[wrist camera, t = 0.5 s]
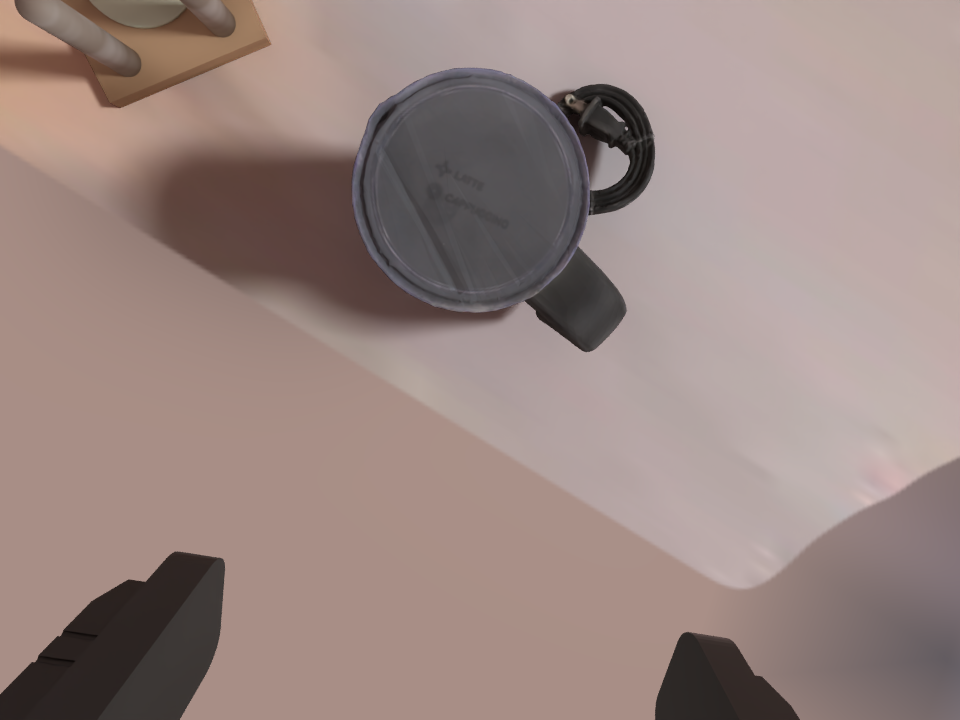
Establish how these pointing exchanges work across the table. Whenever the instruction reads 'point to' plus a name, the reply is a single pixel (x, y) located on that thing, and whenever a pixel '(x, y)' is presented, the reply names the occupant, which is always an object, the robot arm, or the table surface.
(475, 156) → the milk frother
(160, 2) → the pin tray
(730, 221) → the table surface
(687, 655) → the robot arm
